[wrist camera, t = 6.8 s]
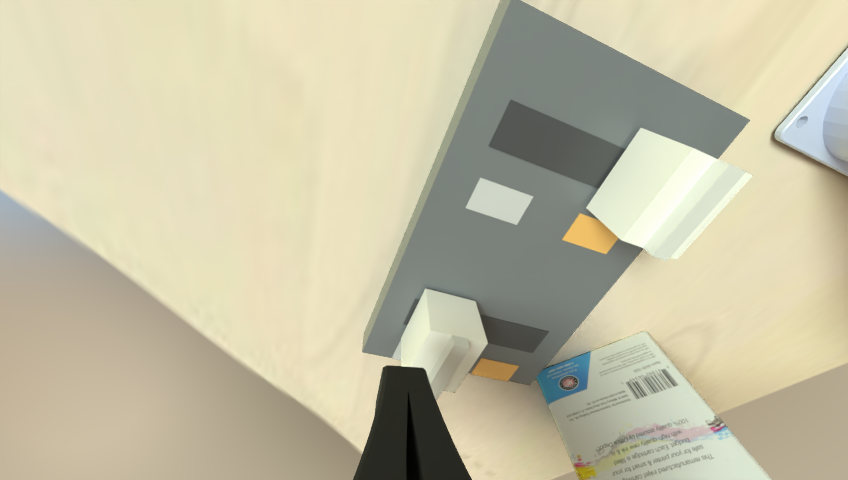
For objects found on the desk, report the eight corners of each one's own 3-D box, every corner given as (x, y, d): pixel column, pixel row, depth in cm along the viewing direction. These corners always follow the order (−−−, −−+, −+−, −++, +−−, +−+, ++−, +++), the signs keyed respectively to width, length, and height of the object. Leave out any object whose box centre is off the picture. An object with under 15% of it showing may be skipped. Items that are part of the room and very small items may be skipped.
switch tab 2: (640, 127, 14) (707, 153, 11) (692, 151, 15) (767, 181, 12) (585, 207, 16) (630, 248, 13) (634, 225, 17) (687, 267, 14)
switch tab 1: (425, 288, 18) (431, 340, 15) (475, 301, 19) (491, 353, 16) (400, 338, 20) (402, 393, 17) (447, 348, 21) (456, 403, 18)
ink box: (561, 424, 30) (646, 622, 20) (532, 370, 25) (620, 587, 15) (661, 390, 28) (808, 587, 18) (647, 327, 24) (828, 538, 14)
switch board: (500, -1, 13) (512, -5, 12) (721, 113, 16) (751, 120, 15) (363, 333, 22) (362, 352, 21) (523, 367, 25) (530, 385, 24)
